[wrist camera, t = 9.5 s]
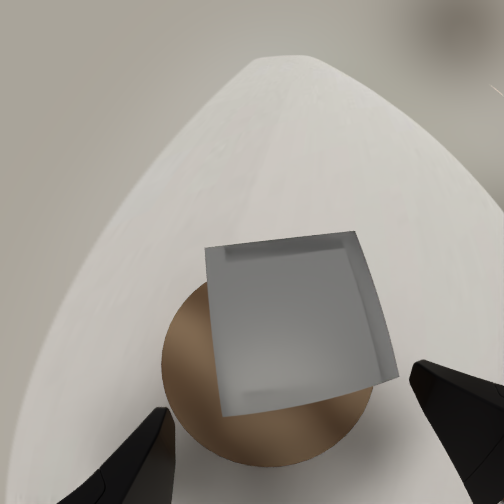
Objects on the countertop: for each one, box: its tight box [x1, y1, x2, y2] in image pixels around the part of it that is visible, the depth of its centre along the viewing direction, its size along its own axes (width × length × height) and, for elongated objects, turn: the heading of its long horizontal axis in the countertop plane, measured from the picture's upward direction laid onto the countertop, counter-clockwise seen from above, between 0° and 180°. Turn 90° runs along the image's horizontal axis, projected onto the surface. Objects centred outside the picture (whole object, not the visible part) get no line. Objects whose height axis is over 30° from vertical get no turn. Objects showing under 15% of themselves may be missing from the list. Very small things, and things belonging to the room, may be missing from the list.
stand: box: [161, 282, 373, 467], centre depth 15 cm, size 14×14×5 cm
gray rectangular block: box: [205, 231, 399, 417], centre depth 12 cm, size 5×5×10 cm
